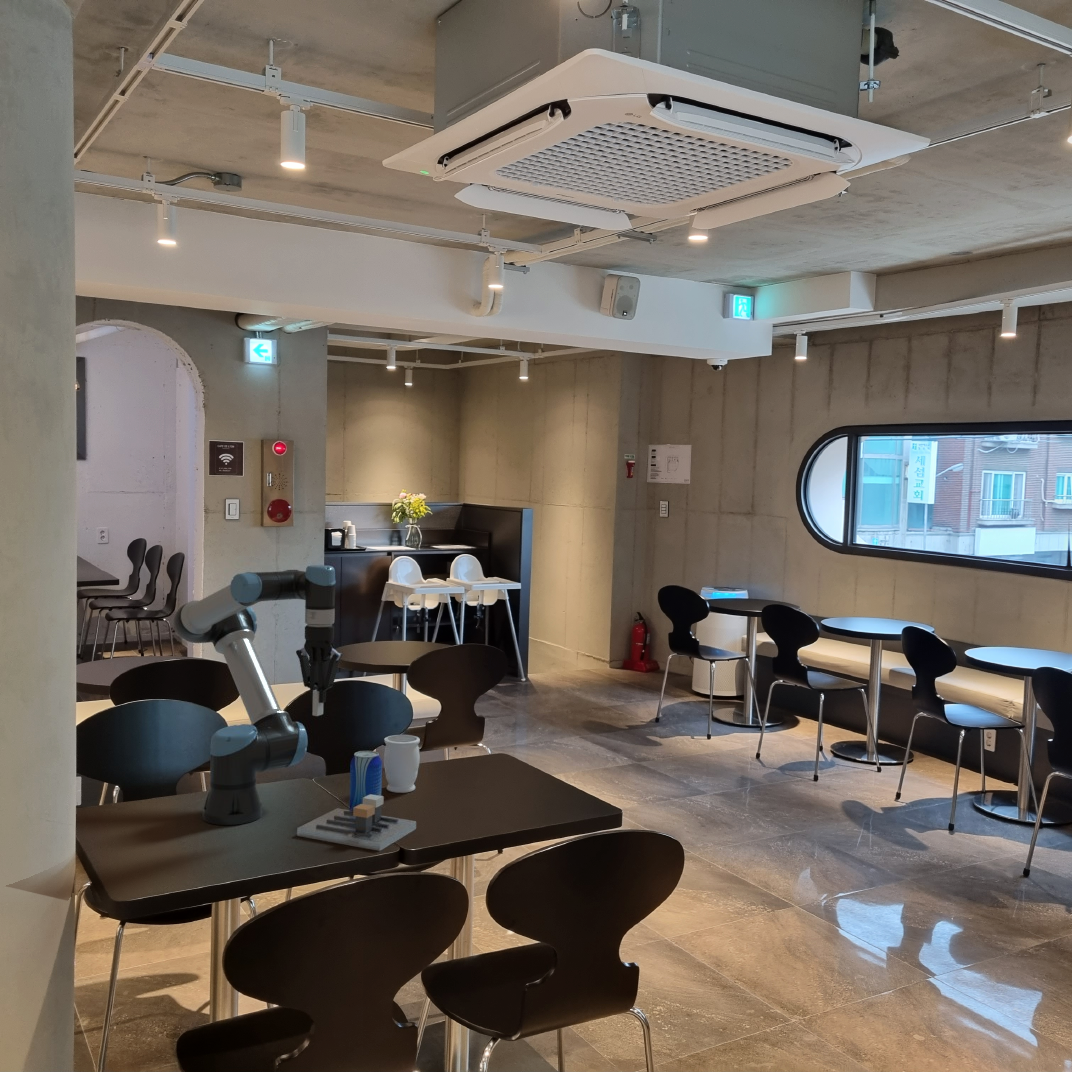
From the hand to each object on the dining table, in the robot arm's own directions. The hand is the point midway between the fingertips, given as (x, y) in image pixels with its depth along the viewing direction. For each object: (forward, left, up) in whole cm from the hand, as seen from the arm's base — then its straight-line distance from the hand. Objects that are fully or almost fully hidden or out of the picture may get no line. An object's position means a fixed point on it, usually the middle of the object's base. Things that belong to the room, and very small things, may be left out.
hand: (317, 714), depth 263 cm
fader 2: (+18, -6, -26) cm, 32 cm away
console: (+14, -2, -28) cm, 32 cm away
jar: (+5, +36, -29) cm, 46 cm away
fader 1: (+16, +2, -26) cm, 31 cm away
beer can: (+7, +13, -29) cm, 32 cm away
